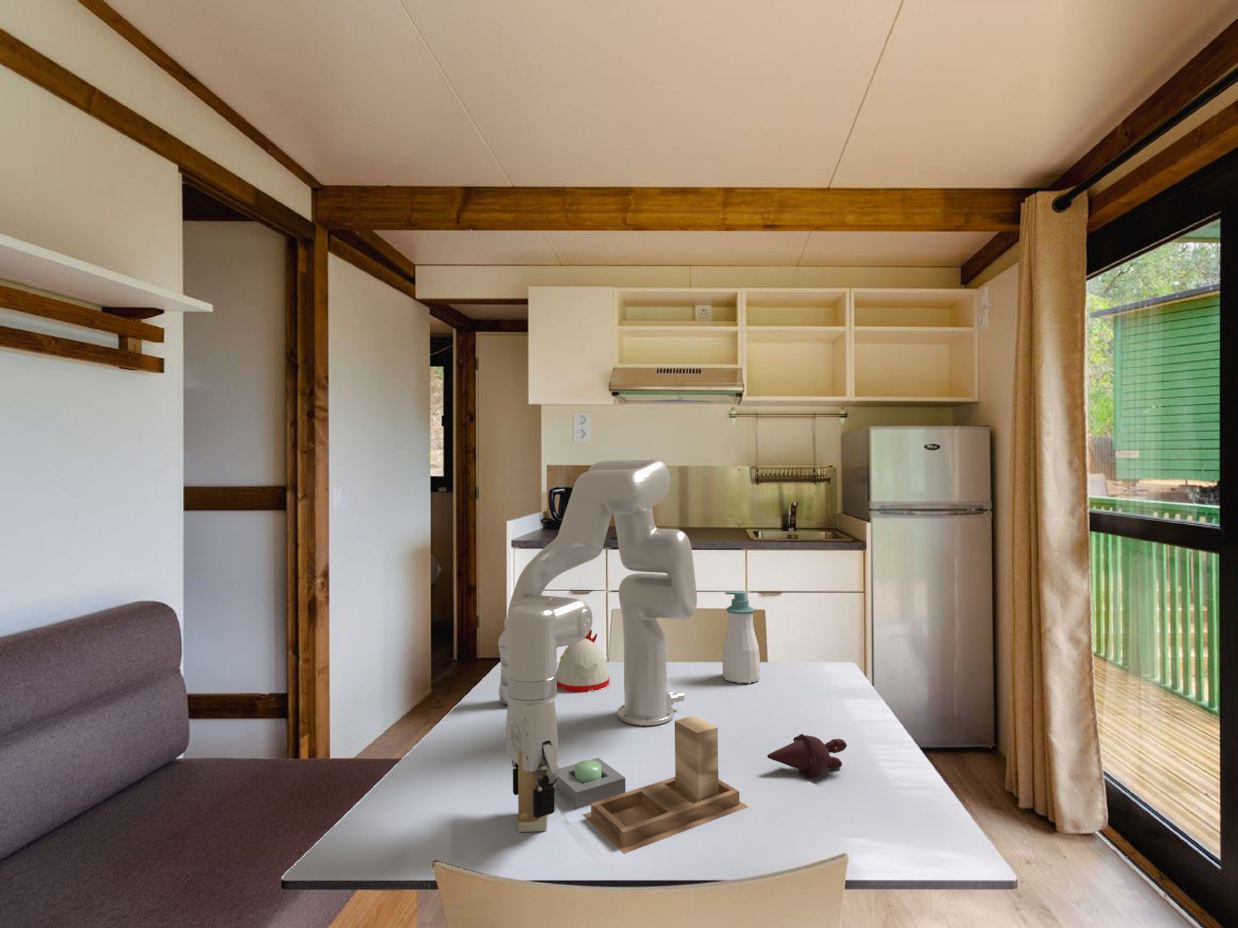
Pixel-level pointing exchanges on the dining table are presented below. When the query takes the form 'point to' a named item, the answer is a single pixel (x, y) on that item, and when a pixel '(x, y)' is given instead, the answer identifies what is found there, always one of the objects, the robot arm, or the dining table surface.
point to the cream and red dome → (582, 667)
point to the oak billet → (696, 759)
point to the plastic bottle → (504, 664)
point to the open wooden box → (657, 813)
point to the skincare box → (528, 800)
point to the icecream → (809, 754)
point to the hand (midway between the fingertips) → (533, 802)
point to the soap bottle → (740, 642)
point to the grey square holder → (589, 785)
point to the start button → (587, 771)
